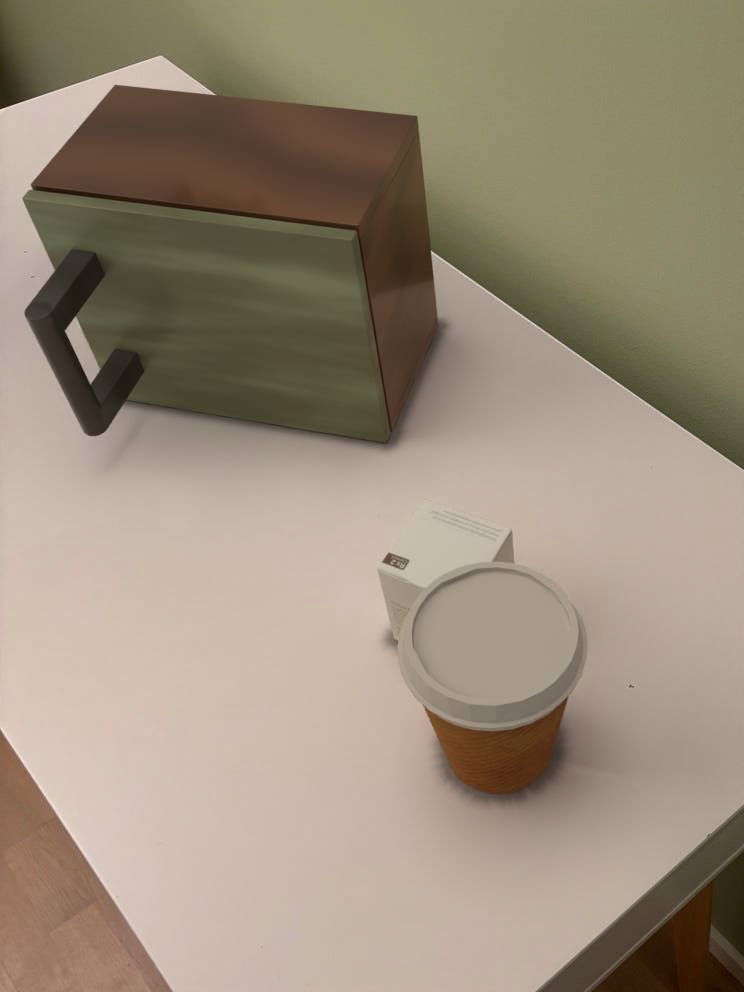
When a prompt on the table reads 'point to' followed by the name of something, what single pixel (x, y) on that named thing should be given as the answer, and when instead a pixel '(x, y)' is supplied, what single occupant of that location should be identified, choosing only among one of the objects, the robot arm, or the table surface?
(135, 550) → the table surface
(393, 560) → the white cardboard box
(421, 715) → the table surface
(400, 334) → the cupboard
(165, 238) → the cupboard door
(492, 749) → the disposable coffee cup
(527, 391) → the table surface
